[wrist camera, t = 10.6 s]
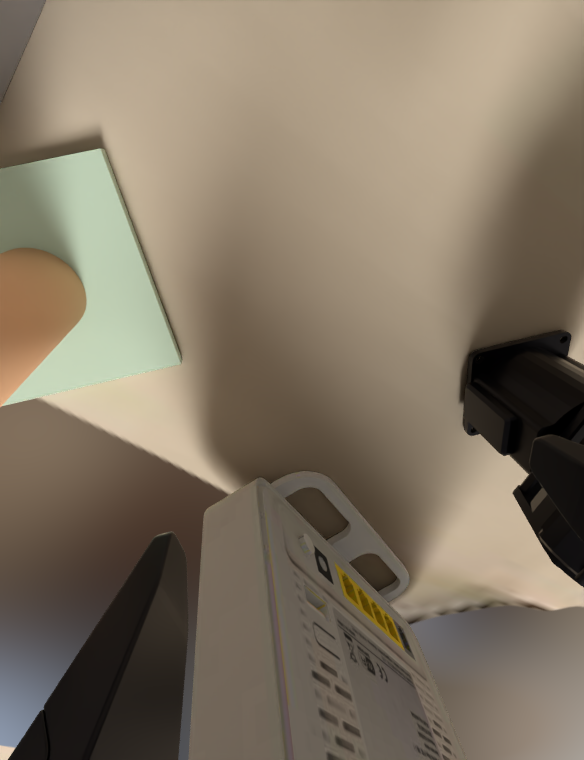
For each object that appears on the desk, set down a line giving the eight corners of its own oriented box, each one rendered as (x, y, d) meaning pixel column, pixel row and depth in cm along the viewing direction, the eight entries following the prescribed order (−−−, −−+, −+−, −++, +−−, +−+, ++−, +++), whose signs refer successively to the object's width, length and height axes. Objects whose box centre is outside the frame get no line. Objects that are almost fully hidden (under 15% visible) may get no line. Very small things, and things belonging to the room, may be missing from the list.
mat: (104, 149, 16) (100, 148, 15) (182, 359, 21) (181, 364, 20) (-143, 199, 15) (-156, 199, 15) (-2, 401, 20) (-8, 408, 20)
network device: (179, 493, 25) (78, 1198, 8) (286, 426, 24) (451, 1089, 7) (351, 634, 37) (461, 1031, 20) (429, 595, 36) (617, 981, 19)
